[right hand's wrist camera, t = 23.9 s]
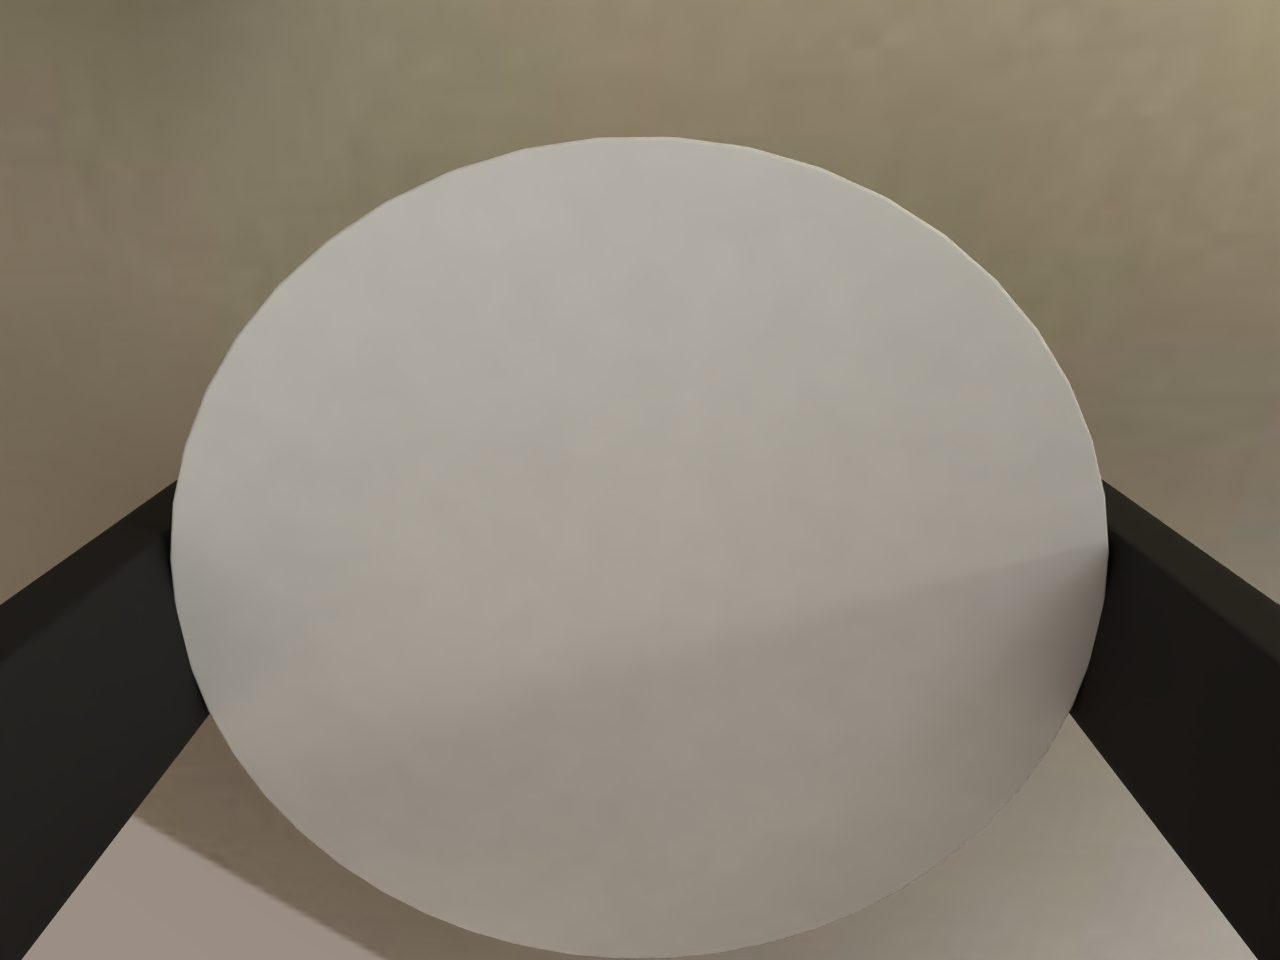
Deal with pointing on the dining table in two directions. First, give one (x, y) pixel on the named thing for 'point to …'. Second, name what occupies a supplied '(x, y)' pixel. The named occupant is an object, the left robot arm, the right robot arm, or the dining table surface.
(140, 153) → the dining table surface
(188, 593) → the lid
